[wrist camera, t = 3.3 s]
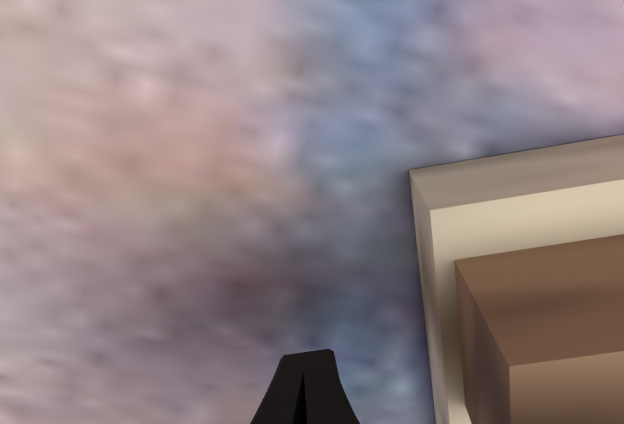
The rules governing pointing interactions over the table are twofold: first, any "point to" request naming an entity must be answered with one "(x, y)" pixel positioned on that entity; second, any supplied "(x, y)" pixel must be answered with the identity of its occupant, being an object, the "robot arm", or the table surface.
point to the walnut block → (544, 334)
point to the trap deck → (503, 229)
